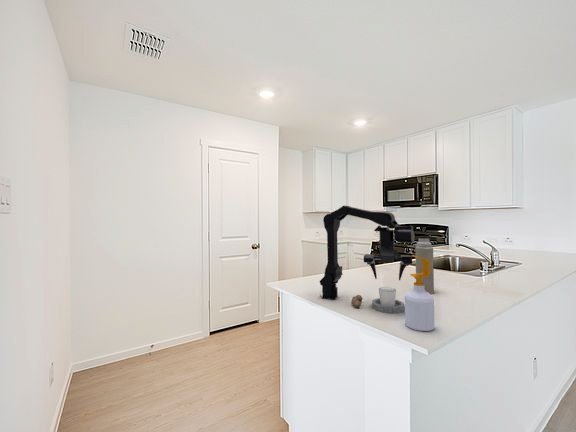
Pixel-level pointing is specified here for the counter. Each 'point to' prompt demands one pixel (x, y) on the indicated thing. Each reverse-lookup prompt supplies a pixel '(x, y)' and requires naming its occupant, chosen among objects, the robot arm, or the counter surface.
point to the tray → (387, 309)
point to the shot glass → (387, 296)
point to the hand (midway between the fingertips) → (387, 279)
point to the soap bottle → (420, 302)
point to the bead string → (356, 301)
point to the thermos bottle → (426, 252)
